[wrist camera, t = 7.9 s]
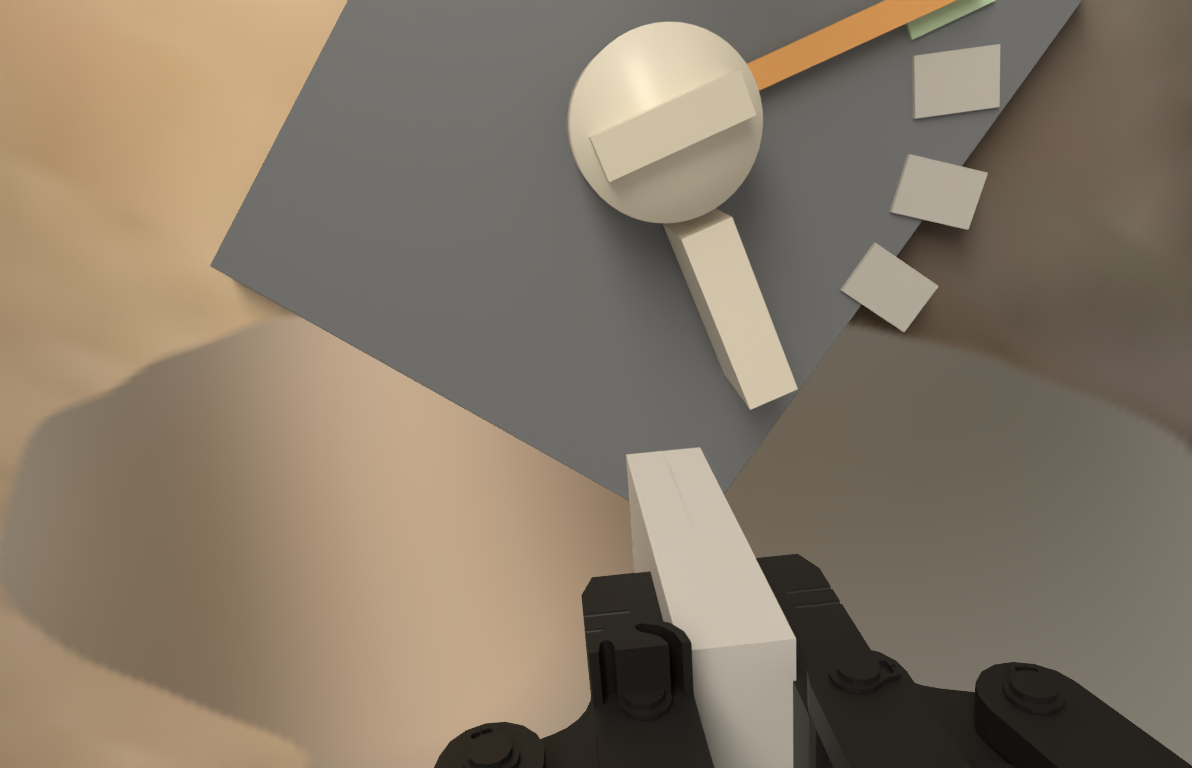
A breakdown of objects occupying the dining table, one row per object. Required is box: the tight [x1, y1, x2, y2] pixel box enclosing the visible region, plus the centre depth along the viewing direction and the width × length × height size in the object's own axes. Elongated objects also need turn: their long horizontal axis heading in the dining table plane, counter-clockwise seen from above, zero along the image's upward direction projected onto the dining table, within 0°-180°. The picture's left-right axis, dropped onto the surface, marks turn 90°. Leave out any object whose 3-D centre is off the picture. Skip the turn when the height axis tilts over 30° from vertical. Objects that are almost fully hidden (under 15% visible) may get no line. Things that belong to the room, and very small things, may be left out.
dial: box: [566, 0, 956, 410], centre depth 29 cm, size 16×13×6 cm
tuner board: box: [210, 0, 1082, 500], centre depth 32 cm, size 24×26×2 cm
